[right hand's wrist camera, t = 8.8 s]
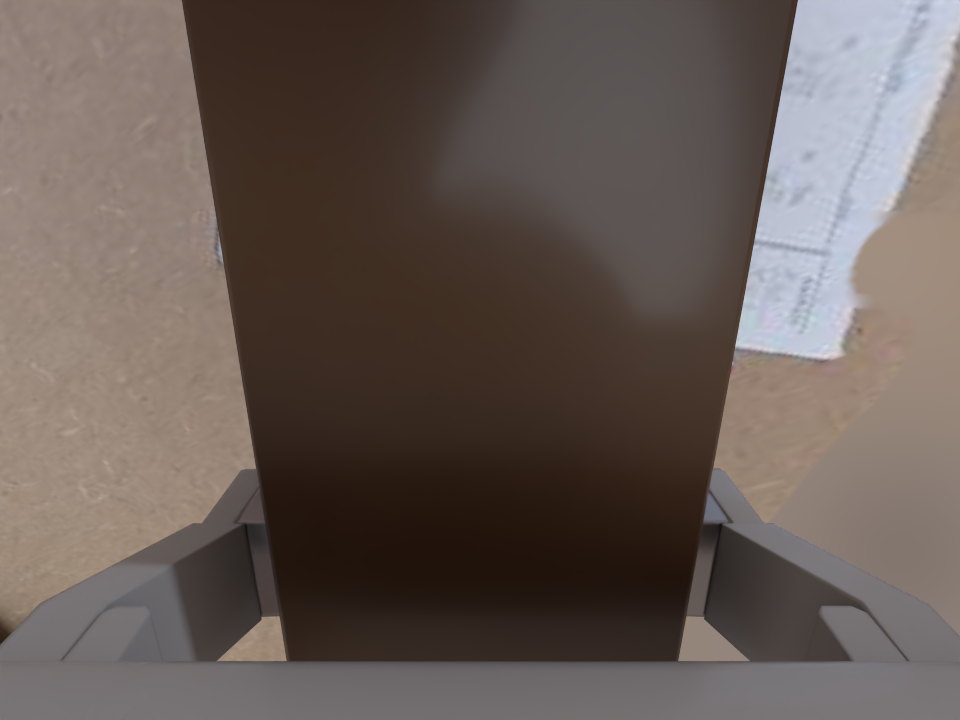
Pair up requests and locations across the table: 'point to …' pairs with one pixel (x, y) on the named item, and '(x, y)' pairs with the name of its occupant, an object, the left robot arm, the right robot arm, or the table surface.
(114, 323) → the table surface
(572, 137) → the beam
